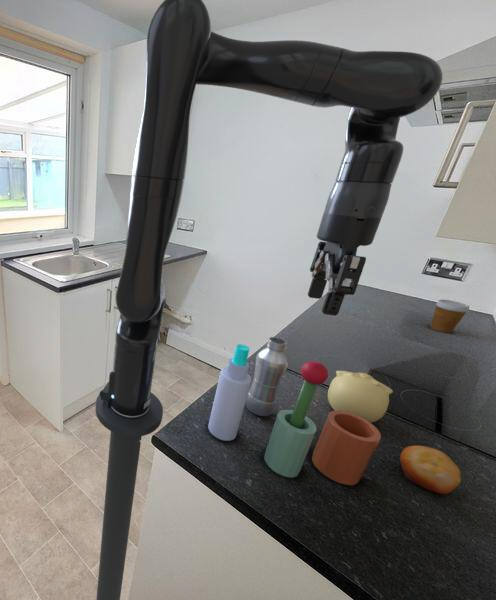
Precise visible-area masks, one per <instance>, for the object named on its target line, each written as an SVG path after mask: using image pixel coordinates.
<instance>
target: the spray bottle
mask: <svg viewBox="0 0 496 600" xmlns="http://www.w3.org/2000/svg"><path fill="white" fill-rule="evenodd" d="M249 353H250V347H249V346H247V345H246V344H236V346H235V349H234V353H233V357H231V358H229V360H228V363H227V366H226V367H223V368H221V369H220V372H219V377H218V382H217V386H216V390H215V394H214V399H213V403H212V407H211V412H210V415H209V420H208V426H207V427H208V431H209V433H210V434H211V435H212V436H213V437H215V438H216V439H217V440H220V441H224V442H229V441H233V440H235V439H236V437H237V434H238V432H239V431H238V430H239V427H240V425H241V420H242V417H243V413H244V410H245V407H246V404H245V402H246V398H247V395H248V391H249V390H250V387H251V384H252V377H251V375H250V374H249V369H250V363H249V362H248V357H249Z"/></svg>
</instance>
